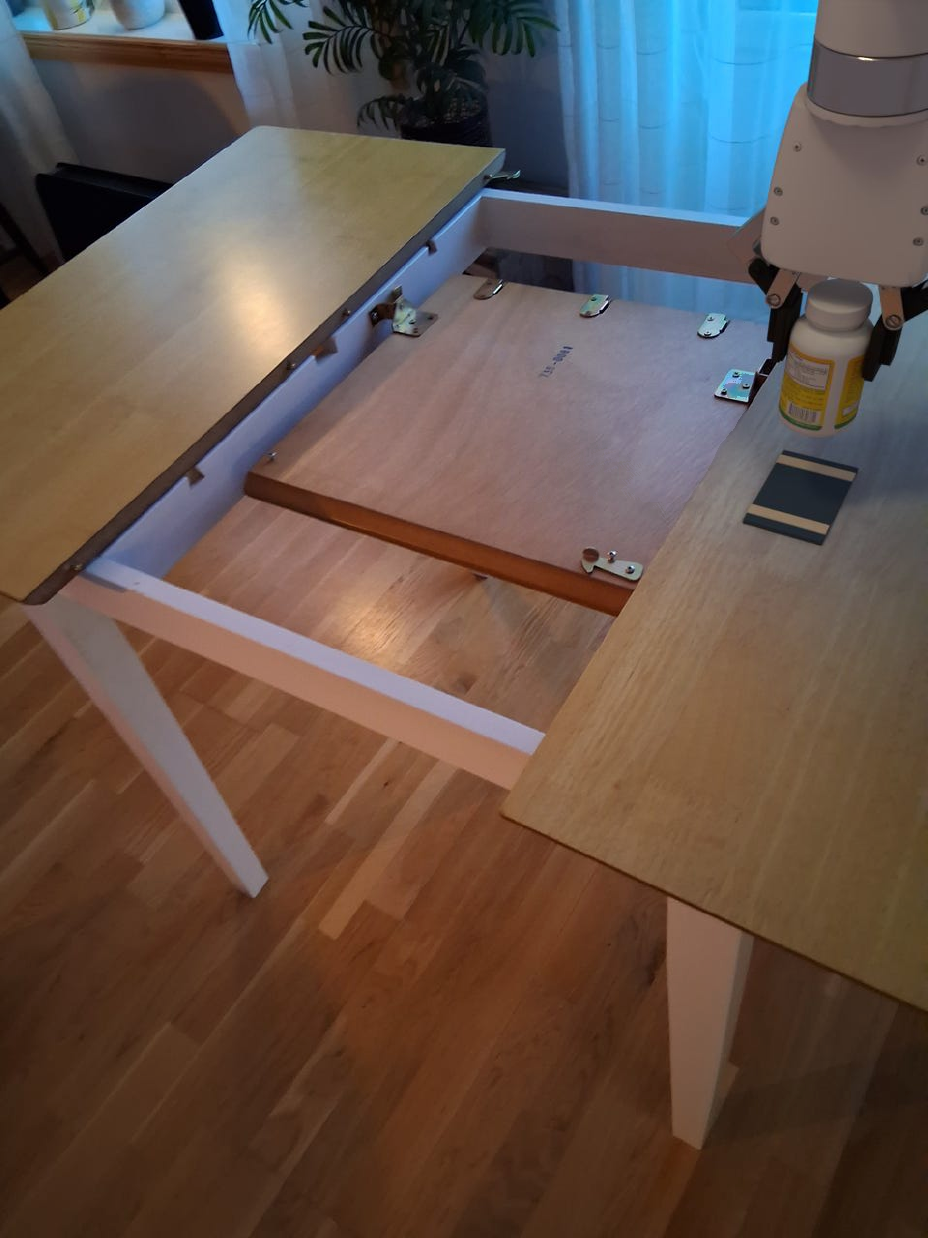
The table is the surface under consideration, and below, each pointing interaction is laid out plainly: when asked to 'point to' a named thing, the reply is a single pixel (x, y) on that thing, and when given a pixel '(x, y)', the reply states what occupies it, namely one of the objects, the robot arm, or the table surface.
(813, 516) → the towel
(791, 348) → the supplement bottle
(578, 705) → the table surface
